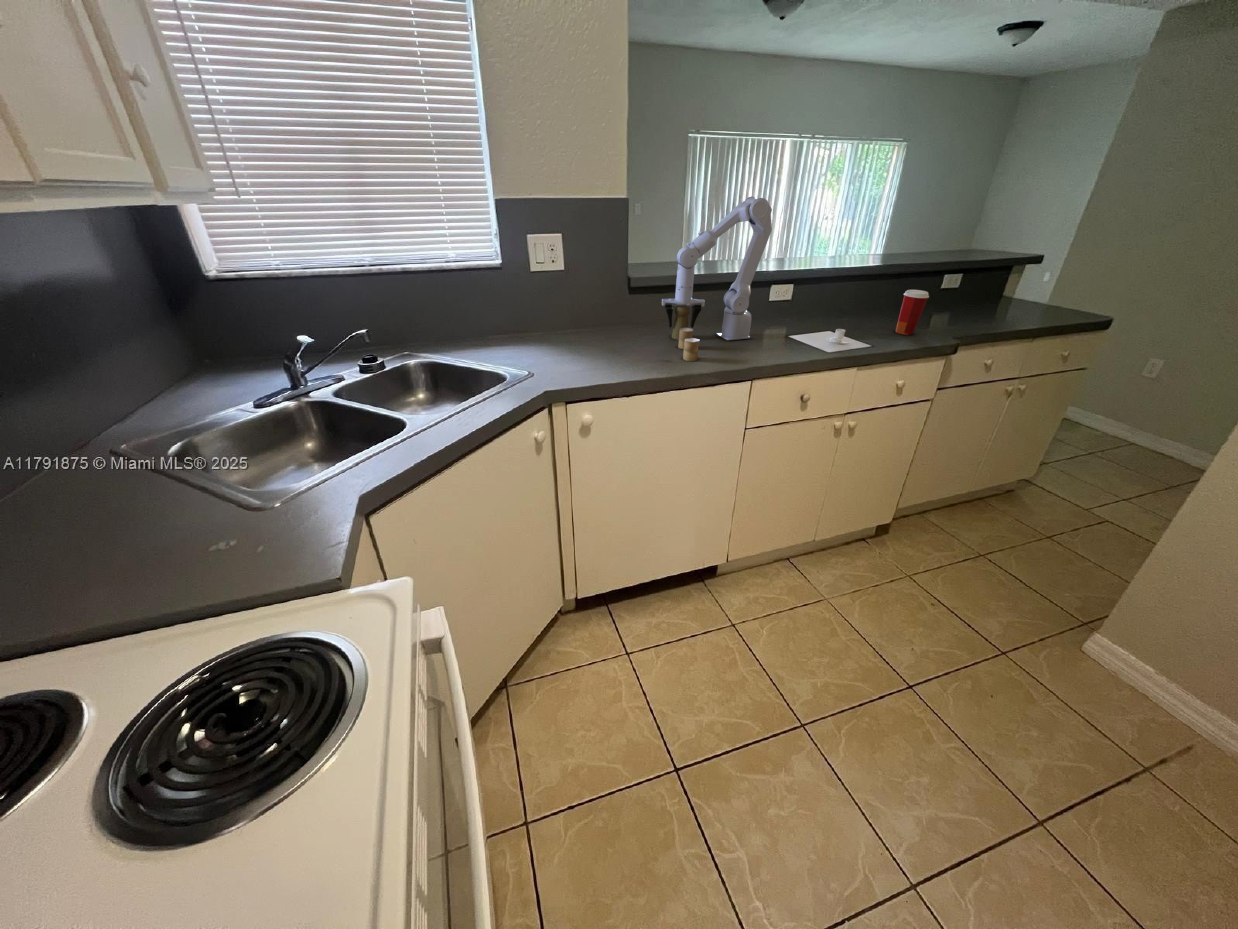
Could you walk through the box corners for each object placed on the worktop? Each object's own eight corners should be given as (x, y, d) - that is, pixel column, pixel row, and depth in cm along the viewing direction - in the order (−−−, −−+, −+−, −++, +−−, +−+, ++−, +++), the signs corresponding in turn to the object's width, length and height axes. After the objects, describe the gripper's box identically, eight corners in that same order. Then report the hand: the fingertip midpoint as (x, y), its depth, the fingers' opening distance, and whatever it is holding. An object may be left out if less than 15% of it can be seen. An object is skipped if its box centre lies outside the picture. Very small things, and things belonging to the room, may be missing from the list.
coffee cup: (917, 332, 185) (931, 291, 177) (915, 337, 179) (929, 294, 171) (893, 328, 189) (905, 288, 181) (890, 333, 183) (903, 291, 175)
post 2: (692, 356, 155) (694, 337, 152) (699, 360, 151) (701, 341, 148) (680, 357, 153) (682, 338, 150) (687, 361, 150) (688, 342, 147)
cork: (688, 335, 175) (691, 304, 169) (688, 340, 170) (691, 308, 164) (671, 334, 175) (673, 303, 170) (671, 339, 170) (673, 307, 164)
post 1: (687, 344, 165) (689, 327, 162) (693, 348, 161) (695, 330, 158) (675, 346, 163) (677, 328, 160) (681, 350, 160) (683, 331, 157)
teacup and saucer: (836, 346, 167) (839, 334, 165) (819, 339, 173) (822, 328, 171) (855, 343, 170) (858, 331, 168) (837, 337, 176) (840, 326, 174)
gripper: (703, 284, 167) (699, 324, 174) (661, 283, 167) (659, 323, 174) (707, 288, 161) (703, 329, 168) (664, 287, 161) (661, 328, 168)
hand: (681, 326), depth 170 cm, fingers open, 7 cm apart
